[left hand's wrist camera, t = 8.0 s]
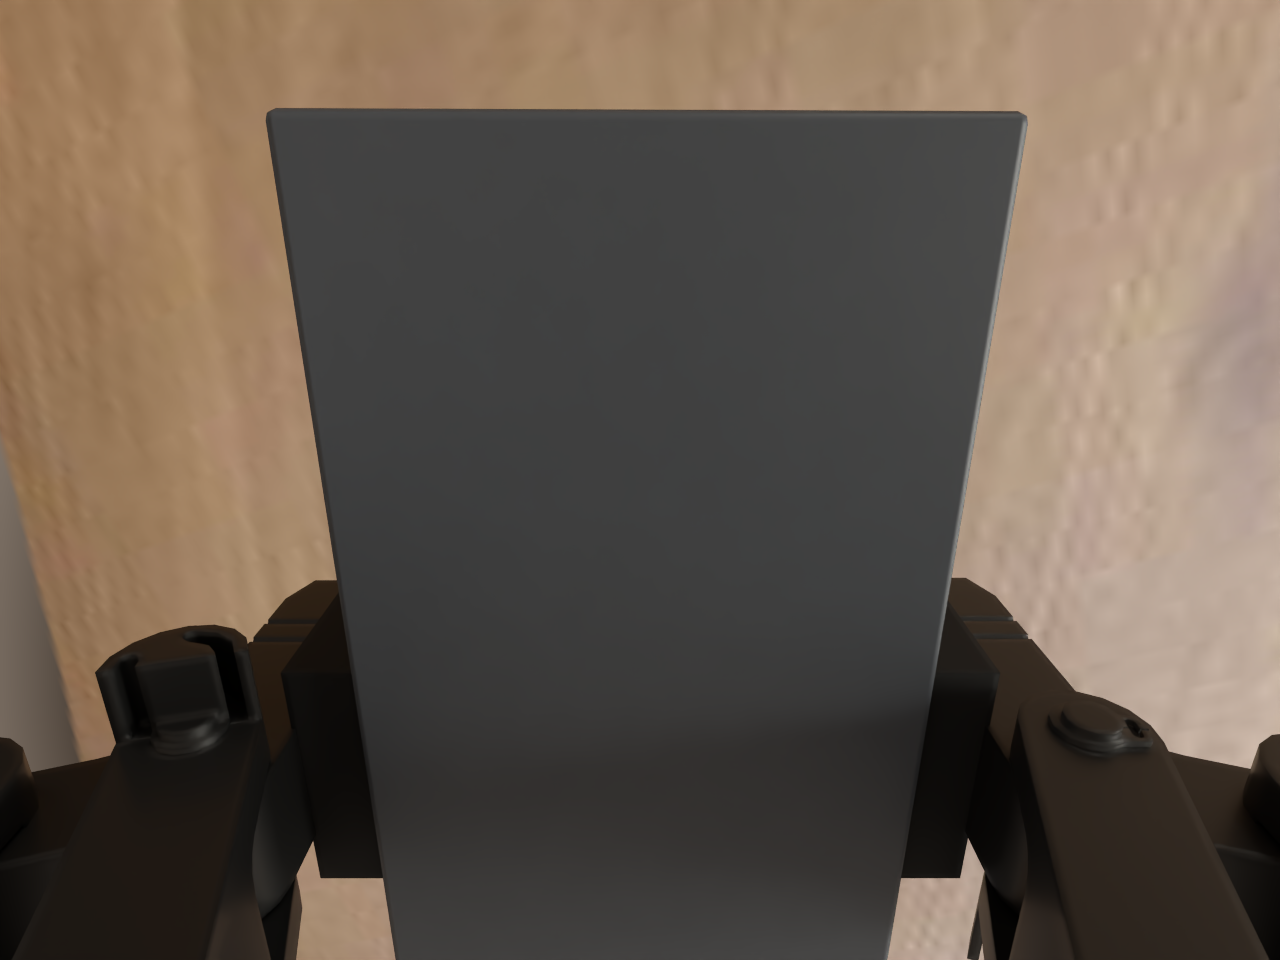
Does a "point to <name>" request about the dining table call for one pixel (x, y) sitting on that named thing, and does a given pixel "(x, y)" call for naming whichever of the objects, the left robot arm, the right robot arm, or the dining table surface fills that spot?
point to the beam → (644, 503)
